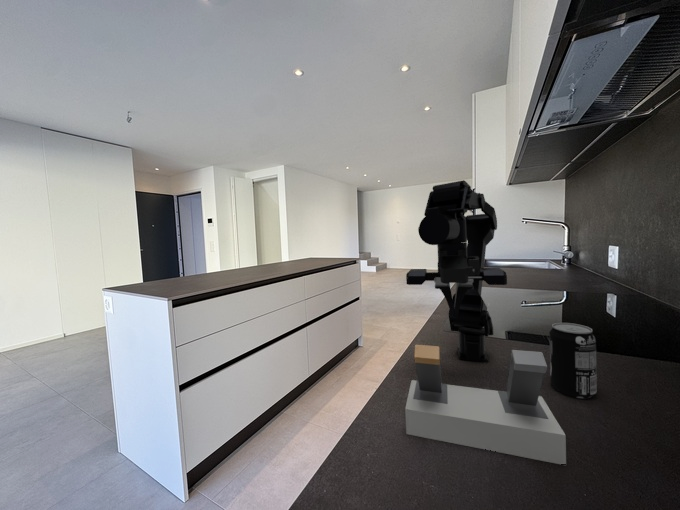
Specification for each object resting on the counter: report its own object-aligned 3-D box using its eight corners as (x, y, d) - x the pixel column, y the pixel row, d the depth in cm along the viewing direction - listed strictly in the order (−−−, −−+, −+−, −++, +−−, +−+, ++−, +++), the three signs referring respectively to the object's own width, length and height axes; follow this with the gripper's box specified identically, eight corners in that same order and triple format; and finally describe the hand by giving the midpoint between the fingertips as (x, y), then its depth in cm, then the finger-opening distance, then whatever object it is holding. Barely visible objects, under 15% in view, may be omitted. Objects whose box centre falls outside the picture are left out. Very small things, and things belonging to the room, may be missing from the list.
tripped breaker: (420, 379, 47) (415, 344, 42) (441, 382, 46) (439, 346, 41) (419, 391, 46) (414, 356, 40) (441, 394, 44) (439, 359, 39)
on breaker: (506, 390, 43) (511, 349, 38) (532, 393, 41) (542, 352, 36) (509, 404, 41) (515, 363, 36) (536, 407, 40) (547, 366, 35)
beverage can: (551, 378, 55) (549, 320, 55) (595, 387, 51) (594, 325, 51) (549, 392, 50) (548, 329, 50) (598, 404, 46) (597, 335, 46)
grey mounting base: (412, 401, 50) (411, 379, 50) (542, 421, 43) (541, 396, 43) (406, 434, 42) (405, 408, 42) (566, 465, 35) (565, 434, 34)
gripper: (401, 246, 53) (404, 325, 53) (512, 241, 46) (515, 332, 47) (408, 245, 63) (411, 311, 64) (499, 240, 56) (502, 314, 57)
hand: (454, 316), depth 57 cm, fingers closed
